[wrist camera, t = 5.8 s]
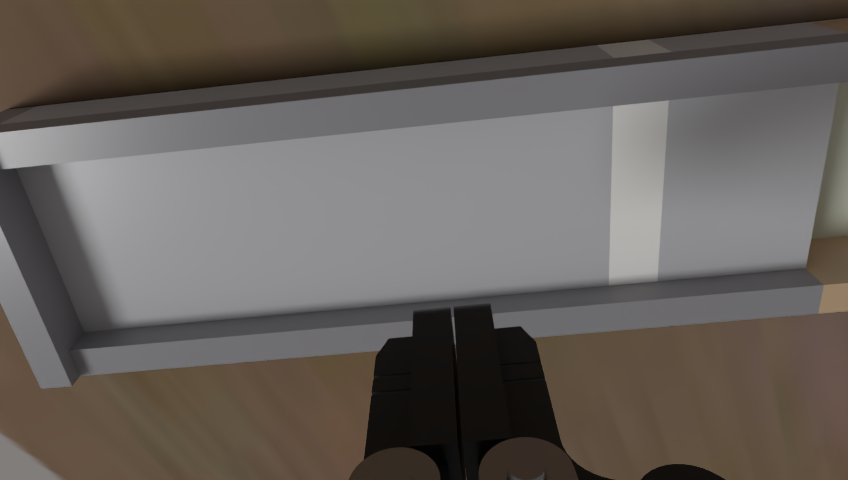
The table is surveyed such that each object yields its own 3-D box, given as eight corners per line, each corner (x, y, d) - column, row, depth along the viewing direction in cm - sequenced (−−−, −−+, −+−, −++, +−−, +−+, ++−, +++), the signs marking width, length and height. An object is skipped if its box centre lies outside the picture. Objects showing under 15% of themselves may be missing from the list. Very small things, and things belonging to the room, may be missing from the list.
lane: (6, 109, 20) (-90, 150, 16) (1176, -18, 18) (1366, -4, 14) (94, 325, 23) (32, 399, 19) (1076, 238, 21) (1208, 302, 18)
